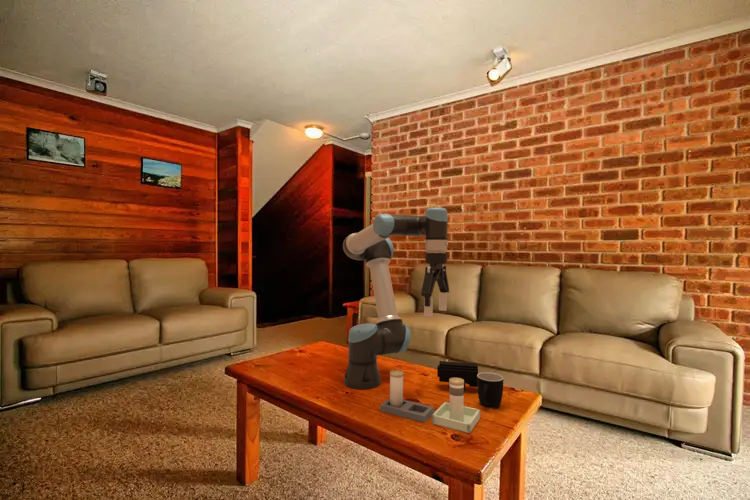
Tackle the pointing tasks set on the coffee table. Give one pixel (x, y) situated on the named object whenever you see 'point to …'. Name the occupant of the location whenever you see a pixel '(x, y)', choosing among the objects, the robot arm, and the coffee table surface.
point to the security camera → (458, 372)
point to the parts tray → (467, 425)
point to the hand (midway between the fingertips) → (435, 313)
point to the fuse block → (404, 401)
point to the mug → (490, 389)
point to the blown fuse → (456, 399)
